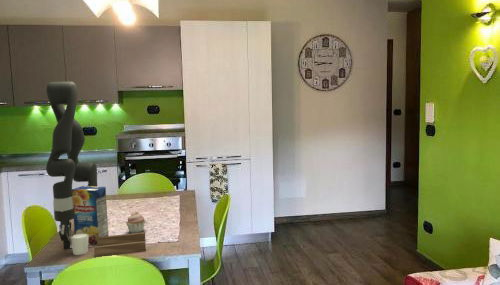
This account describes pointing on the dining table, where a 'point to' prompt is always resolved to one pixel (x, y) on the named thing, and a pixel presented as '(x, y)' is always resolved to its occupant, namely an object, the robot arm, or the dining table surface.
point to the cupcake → (135, 223)
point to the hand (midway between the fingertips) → (67, 248)
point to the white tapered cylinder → (79, 243)
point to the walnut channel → (120, 244)
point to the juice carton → (90, 212)
